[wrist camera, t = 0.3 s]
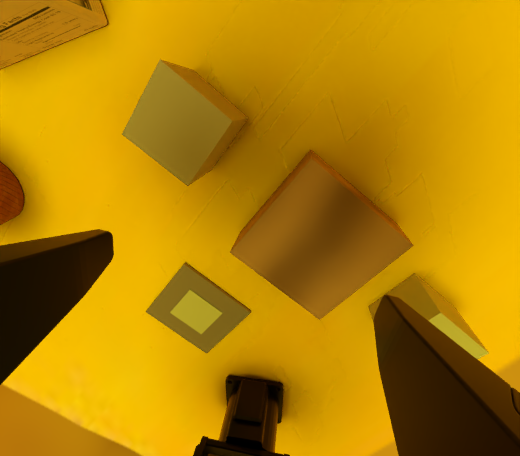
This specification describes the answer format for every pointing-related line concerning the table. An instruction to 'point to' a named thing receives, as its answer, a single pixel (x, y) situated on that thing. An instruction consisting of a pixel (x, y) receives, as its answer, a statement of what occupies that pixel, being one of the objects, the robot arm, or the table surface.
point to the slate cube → (183, 122)
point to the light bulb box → (44, 25)
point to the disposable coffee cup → (9, 195)
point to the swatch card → (197, 309)
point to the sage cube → (436, 313)
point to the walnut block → (319, 238)
